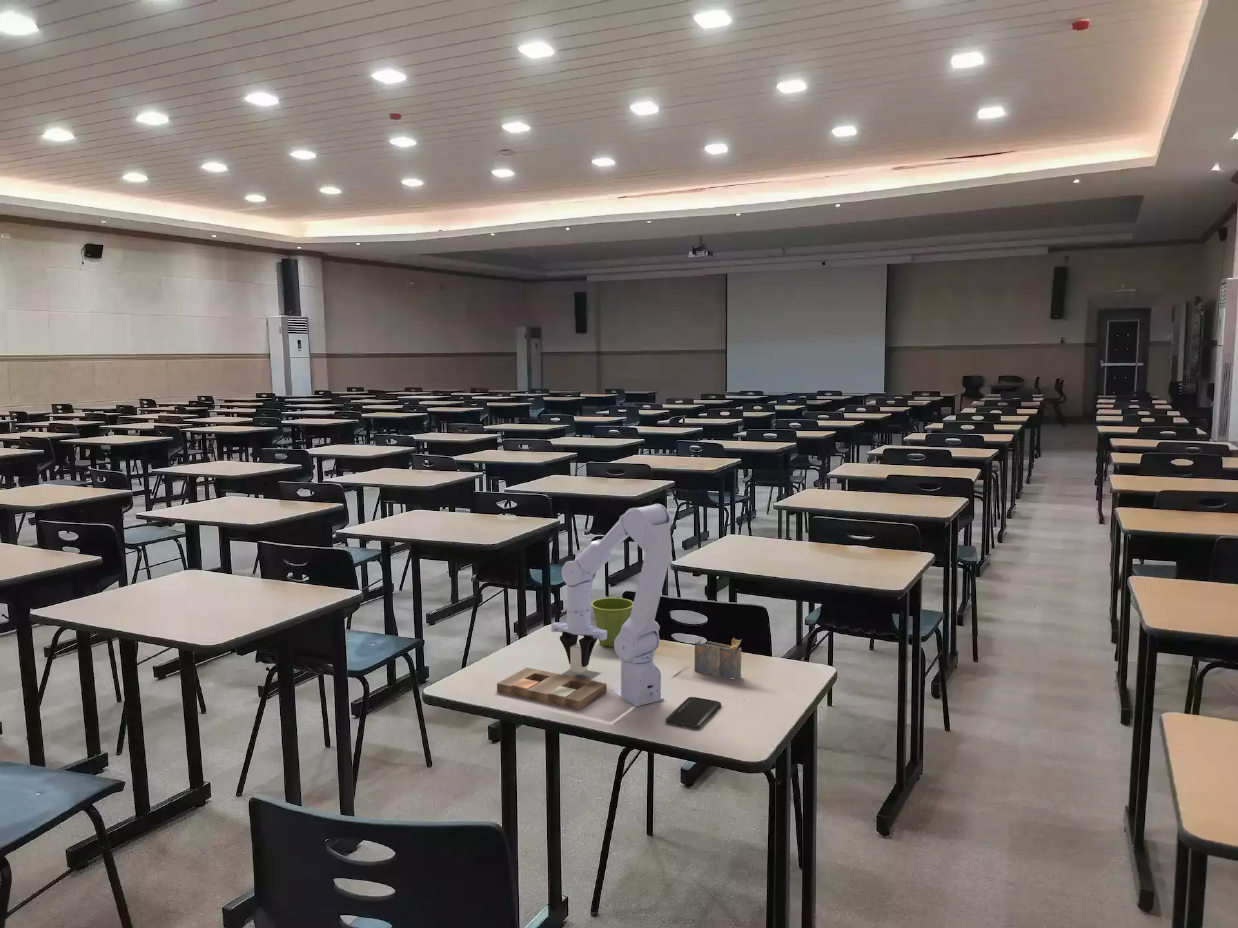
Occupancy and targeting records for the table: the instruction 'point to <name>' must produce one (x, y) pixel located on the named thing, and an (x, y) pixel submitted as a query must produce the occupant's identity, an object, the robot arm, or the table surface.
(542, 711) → the table surface
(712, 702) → the phone
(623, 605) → the plant pot
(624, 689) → the robot arm
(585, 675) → the grey square plate
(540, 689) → the socket block
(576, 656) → the plug
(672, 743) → the table surface
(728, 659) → the weathered storage box
